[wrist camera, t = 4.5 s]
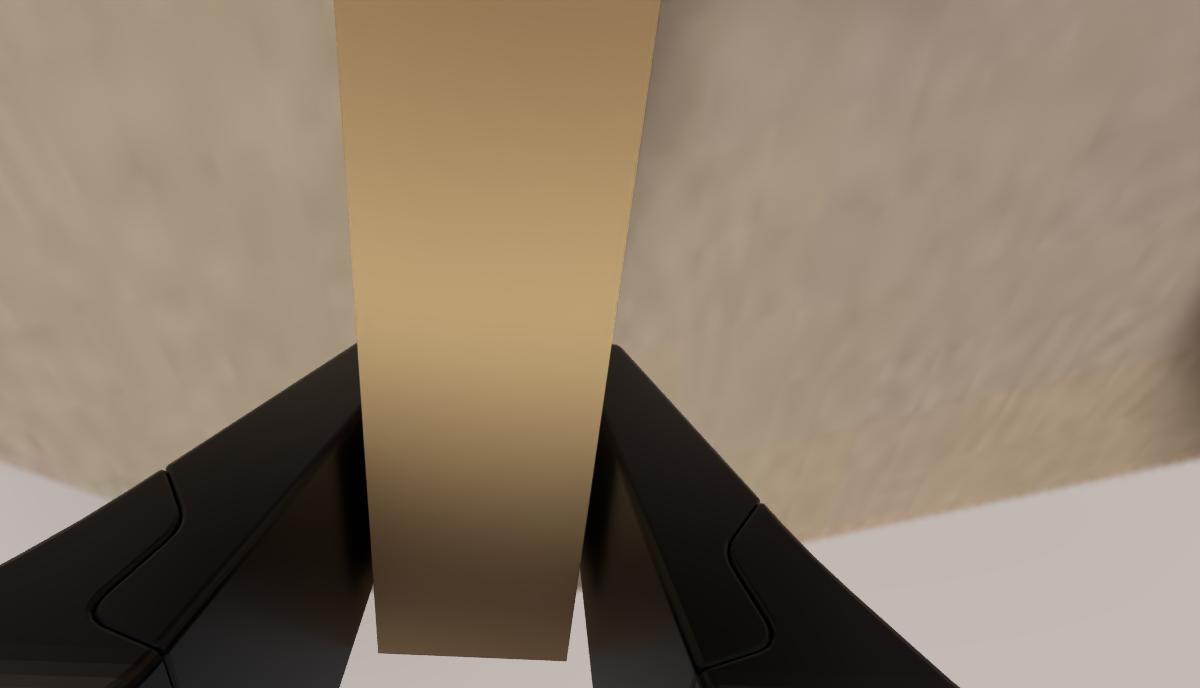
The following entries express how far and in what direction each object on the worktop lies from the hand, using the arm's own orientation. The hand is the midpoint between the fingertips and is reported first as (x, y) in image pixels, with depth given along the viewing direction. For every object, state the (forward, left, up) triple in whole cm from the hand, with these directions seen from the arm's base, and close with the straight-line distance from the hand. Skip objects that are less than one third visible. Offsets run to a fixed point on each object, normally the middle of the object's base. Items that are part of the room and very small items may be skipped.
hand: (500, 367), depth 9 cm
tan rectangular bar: (+5, 0, +1) cm, 5 cm away
